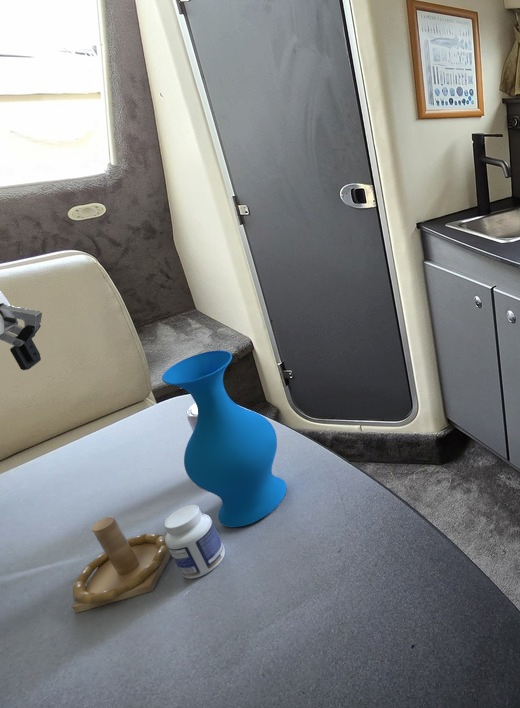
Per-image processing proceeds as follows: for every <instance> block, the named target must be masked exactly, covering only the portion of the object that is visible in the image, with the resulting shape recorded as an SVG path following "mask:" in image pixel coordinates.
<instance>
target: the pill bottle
mask: <svg viewBox="0 0 520 708" xmlns="http://www.w3.org/2000/svg"><path fill="white" fill-rule="evenodd" d="M164 529H165V530H166V531H165V532H166V535H165V536H166V538H165V543H166V545H167V547H168V549H169V551H170V553H171V557H172V559H173V560H174V562H175V564H176V566H177V568H178V569H179V571H180V573H181V576H183V577H184V578H186V579H190V580H191V579H197V578H201V577H203V576H204V575H207V574H209V573H210V572H211V571H213V570H214V569H216V568H217V567H218V566H219V565H220V564H221V563H222V561H223V560H224V558H225V555H226V548H225V546H224V544H223V541H222V540H221V536H220V535H219V533H218V531H217V529H216V526H215V524H214V522H213V520H212V518H211V517H210V516H209V514H206V513H202V511H201V509H200V508H199V506H198V505H196V504H189V505H184V506H182V507H179V508H178V509H176V510H175V511H173V512H172V513H170V514H169V515H168V516H167V517H166V519H165V520H164Z"/></svg>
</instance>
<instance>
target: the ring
mask: <svg viewBox="0 0 520 708" xmlns="http://www.w3.org/2000/svg"><path fill="white" fill-rule="evenodd" d="M165 536H166V535H162V534H157V533H152V532H148V533H145V534H139V535H136V536H133V537H129V538H126V539H127V541H128V543H129V545H130V546H133V545H137V544H141V543H145V542H149V543H154V544H156V545H157V548H158V551H157V553H156V555H155V557H154V558H153V560H152V562H151V563H150V564H149V565H148V566H146V567H145V568H144V569H143V570H142V571H141V572H140V573H139V574H138V575H137V576H135V577H134V578H132V579H130V580H128V581H127V582H125V583H123V584H121V585H120V586H118V587H116V588H114V589H110V590H107V591H103V592H100V593H91V592H87V591H86V588H85V587H86V583H87V582H88V581H89V578H91V575H93V572H95V571H96V570H97V568H98V567H99V566H100V565H101V564H102V563H103V562H105V561H106V560H107V559H108V557H107V555H106V553H105V552H104V551H103V552H102V553H100V554H99V555H98V556H97V557H95V558H94V559H93V560H92V561H91V562H90V563H88V564H87V565H86V566H85V567H84V568H83V569H82V571H81V572H80V574H78V577H77V578H76V580H75V581H74V583H73V584H72V593H73V595H72V596H73V600H74V602H76V601H79V602H83V603H88V604H95V603H98V602H102V601H105V600H109V599H112V598H115V597H118V596H119V595H121V594H123V593H124V592H126V591H128V590H130V589H131V588H133V587H135V586H136V585H138V584H140V583H141V582H142V581H144V580H145V579H146V578H147V577H148V576H149V575H150V574H151V573H152V572H153V571H154V570H155V569H156V568H158V567H159V566H160V564H161V562H162V561H163V559H164V557H165V555H166V553H167V551H168V547H167V545H166V543H165V538H166V537H165Z"/></svg>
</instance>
